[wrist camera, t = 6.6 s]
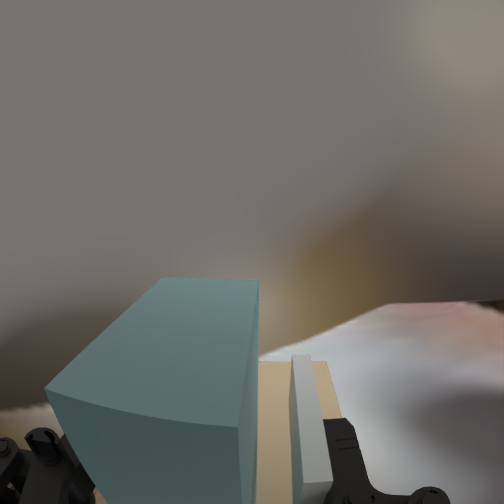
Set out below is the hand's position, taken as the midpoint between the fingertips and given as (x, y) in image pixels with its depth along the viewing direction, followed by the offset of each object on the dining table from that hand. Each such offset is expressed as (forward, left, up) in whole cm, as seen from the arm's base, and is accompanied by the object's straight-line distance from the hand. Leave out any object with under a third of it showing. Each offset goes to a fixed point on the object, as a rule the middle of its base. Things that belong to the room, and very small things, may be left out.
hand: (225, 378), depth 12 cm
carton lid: (+1, -1, -7) cm, 7 cm away
